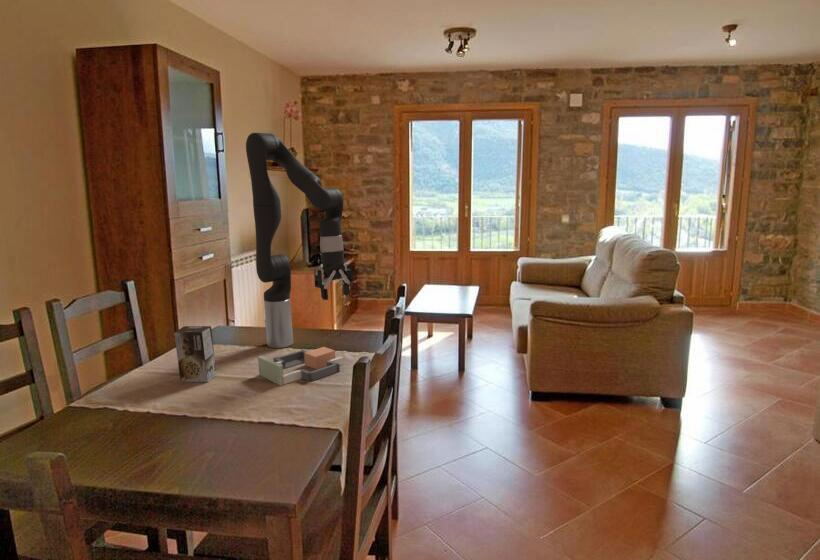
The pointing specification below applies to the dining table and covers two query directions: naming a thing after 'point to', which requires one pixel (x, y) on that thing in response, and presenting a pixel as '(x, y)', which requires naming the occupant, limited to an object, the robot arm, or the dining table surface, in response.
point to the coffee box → (195, 353)
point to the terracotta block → (318, 357)
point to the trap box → (275, 371)
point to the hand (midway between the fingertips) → (335, 297)
